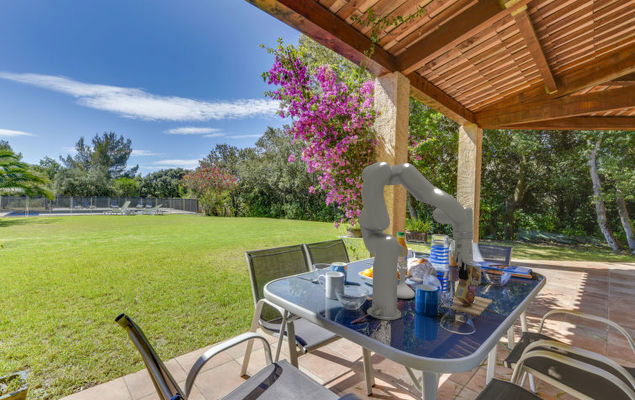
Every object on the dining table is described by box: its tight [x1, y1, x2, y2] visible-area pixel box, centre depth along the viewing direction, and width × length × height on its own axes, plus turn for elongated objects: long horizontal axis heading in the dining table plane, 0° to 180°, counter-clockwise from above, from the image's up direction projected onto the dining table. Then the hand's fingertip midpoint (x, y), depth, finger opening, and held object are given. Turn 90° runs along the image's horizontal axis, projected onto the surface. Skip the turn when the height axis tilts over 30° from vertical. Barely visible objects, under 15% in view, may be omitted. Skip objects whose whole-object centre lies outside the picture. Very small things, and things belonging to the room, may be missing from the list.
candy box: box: [454, 264, 481, 306], centre depth 119 cm, size 9×4×15 cm
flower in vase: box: [397, 243, 416, 300], centre depth 132 cm, size 13×11×25 cm
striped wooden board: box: [440, 295, 494, 317], centre depth 122 cm, size 26×14×1 cm, turn 137°
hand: (463, 279), depth 117 cm, fingers closed
